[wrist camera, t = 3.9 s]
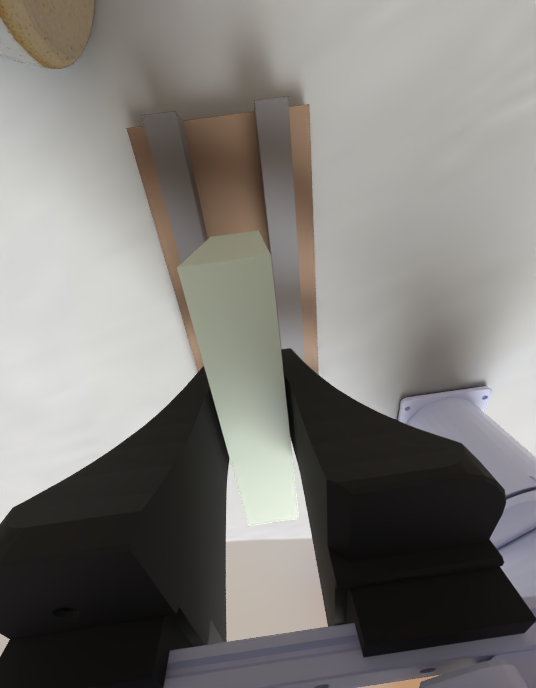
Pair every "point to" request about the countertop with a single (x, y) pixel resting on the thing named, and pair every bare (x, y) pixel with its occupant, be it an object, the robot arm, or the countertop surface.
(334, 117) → the countertop surface
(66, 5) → the grey cylinder
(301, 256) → the track board
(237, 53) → the countertop surface
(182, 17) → the countertop surface
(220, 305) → the door panel
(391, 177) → the countertop surface
